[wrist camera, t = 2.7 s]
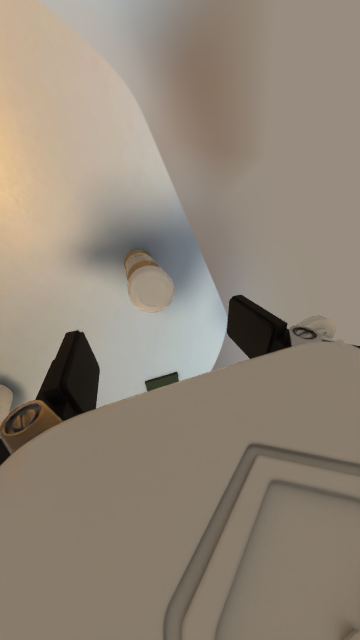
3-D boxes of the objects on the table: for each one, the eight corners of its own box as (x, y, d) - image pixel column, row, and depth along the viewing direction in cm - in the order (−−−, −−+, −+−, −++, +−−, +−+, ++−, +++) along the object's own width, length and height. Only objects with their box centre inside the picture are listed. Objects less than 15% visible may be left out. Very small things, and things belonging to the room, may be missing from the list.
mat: (177, 371, 43) (177, 373, 43) (179, 392, 47) (180, 394, 47) (145, 381, 41) (145, 383, 41) (150, 401, 46) (150, 403, 45)
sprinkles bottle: (128, 279, 29) (134, 318, 18) (120, 250, 26) (122, 274, 15) (155, 275, 30) (177, 308, 19) (150, 246, 27) (172, 266, 16)
